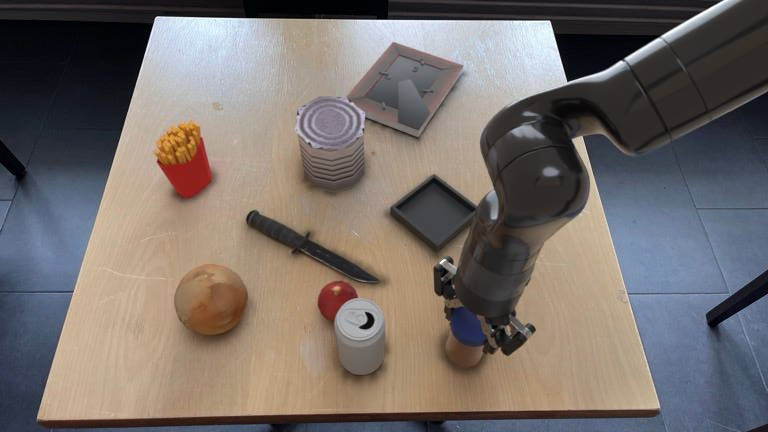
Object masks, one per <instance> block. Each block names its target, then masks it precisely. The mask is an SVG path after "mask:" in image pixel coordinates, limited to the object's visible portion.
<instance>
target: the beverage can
mask: <svg viewBox="0 0 768 432" xmlns="http://www.w3.org/2000/svg"><path fill="white" fill-rule="evenodd" d="M386 322H387V321H386V316H385V314H384V312H383V310H382V309H381V308H380V307H379V305H378V304H377V303H376V302H374V301H373V300H371V299H368V298H364V297H358V298H355V299H352V300H349V301H347V302H346V303H345V304H344V305H342V307H341V308H340V310H339V311H338V313H337V315H336V317H335V322H333V324H334V332H335V339H336V346H337V352H338V358H339V361H340V364H341V365H342V367H343V368H344V369H345V370H346V371H348V372H349V373H351V374H353V375H357V376H365V375H366V376H367V375H369V374H372V373H374V372H375V371H376V370H378V369H379V368H380V366H381V365H382V364H383V362H384V358H385V351H386V349H385V348H386V324H387V323H386Z"/></svg>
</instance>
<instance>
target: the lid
mask: <svg viewBox="0 0 768 432" xmlns="http://www.w3.org/2000/svg"><path fill="white" fill-rule="evenodd" d="M449 327H450V329H451V331H452V333H453V336H454V337H455V338H456V339H457V340H458V341H459V342H461V343H462V344H464V345H467V346H470V347H479V346H483V345H485V343H486V341H487V340H488V338H487V335H485V334H483V332H482V328H481V324H480V320H478V319H477V317H476V316H475V315H474V314H473V313H471V312H470V311H469V310H467V309H466V308H465V307H463V306H462V307H458V308H454V310H453V312H452V316H451V320H450V321H449Z"/></svg>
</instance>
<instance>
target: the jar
mask: <svg viewBox="0 0 768 432" xmlns="http://www.w3.org/2000/svg"><path fill="white" fill-rule="evenodd" d="M445 343H446V344H445V349H444V351H445V354H446V357H447V359H448V360H449V361H450V362H451V363H452V364H453V365H454V366H457V367H459V368H463V369H465V368H471V367H474V366H476V365H477V364H478V363H479V362H480V361H481V359H482V357H483V354H484V353H483V352H482V350H483V347H484V345H483V346H479V347H470V346H467V345H464V344H462V343H461V342H459V341H458V340H457V339H456V338H455V337H454V336H453V333H452V331H451V328H450V329H449V333H448V336H447V338H446V342H445Z"/></svg>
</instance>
